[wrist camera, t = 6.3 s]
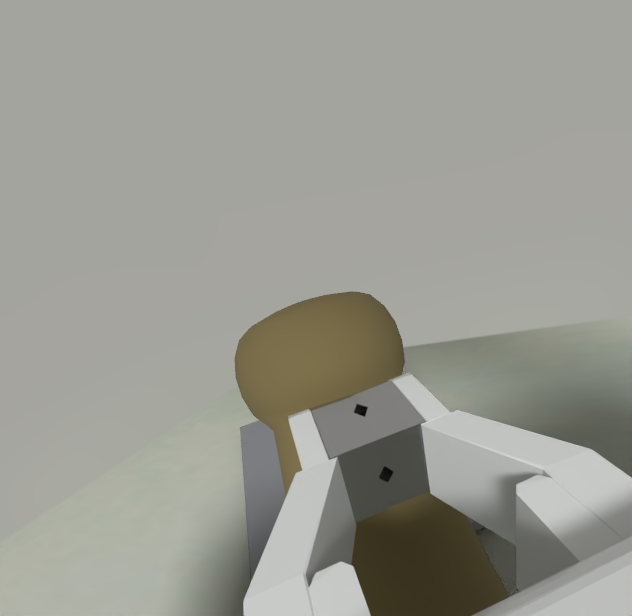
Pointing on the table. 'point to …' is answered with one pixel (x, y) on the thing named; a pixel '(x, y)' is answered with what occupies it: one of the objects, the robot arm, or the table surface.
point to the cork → (339, 381)
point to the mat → (265, 487)
